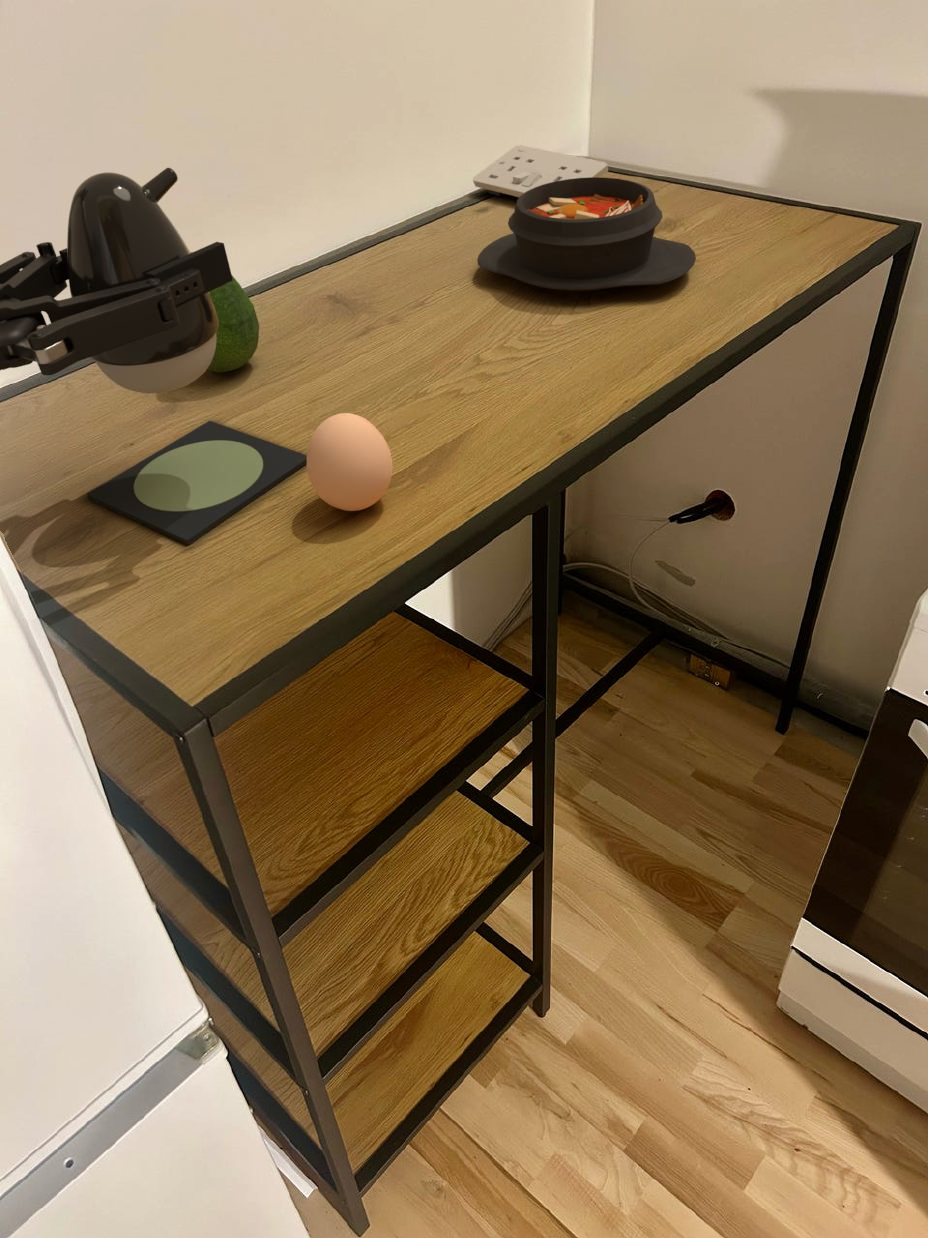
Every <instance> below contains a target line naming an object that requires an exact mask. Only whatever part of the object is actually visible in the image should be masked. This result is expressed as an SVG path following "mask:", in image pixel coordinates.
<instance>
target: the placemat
mask: <svg viewBox="0 0 928 1238" xmlns="http://www.w3.org/2000/svg"><path fill="white" fill-rule="evenodd" d="M304 466H307V454H304V453H301V452H299V451H296V450H293V449H290V448H288V447H284V446H282V445H279V444H276V443H274V442H271V441H268V440H265V439H262V438H260V437H257V436H254V435H251V434H249V433H247V432H243V431H240V430H237V429H234V428H232V427H228V426H226V425H223V424H221V423H218V422H215V421H212V420H207V422H205V423H203V424H201V425H200V426H198V427H196V428H195V429H192V431H190V432H188V433H187V434H185V435H183V436H181V437H180V438H178V439H176V440H175V441H173V442H171V443H170V444H168V445H166V446H165V447H163V448H161V449H160V450H157V451H156V452H154V453H153V454H151V455H149V456H148V457H146V458H144V459H142V460H141V461H139V462H138V463H136V464H134V465H132V466H131V467H129V468H127V469H126V470H124V471H122V472H120V473H119V474H117V475H116V476H114V477H113V478H111V479H109V480H107V481H106V482H104V483H102V484H101V485H99V486H97V487H95V488H94V489H92V490H90V491H89V492H87V493H86V497H87V499H88V500H90V501H93V502H94V503H97V504H99V505H101V506H103V507H105V508H108V509H109V510H112V511H114V512H116V513H118V514H120V515H122V516H125V517H127V518H129V519H131V520H134V521H136V522H138V523H140V524H142V525H144V526H146V527H149V528H150V529H153V530H155V531H156V532H159V533H162V534H163V535H166V536H168V537H170V538H172V539H174V540H176V541H179V542H181V543H183V544H184V545H187V546H190V545H191V544H192V543H194V542H196V541H197V540H198V539H199V538H201V537H203V536H204V535H205V534H207V533H209V532H210V531H211V530H214V528H216V527H218V525H220V524H221V523H223V522H224V521H226V520H227V519H228V518H230V517H232V516H233V515H234V514H236V513H238V512H239V511H241V509H243V508H245V507H246V506H247V505H249V504H251V503H252V502H253V501H255V500H256V499H258V498H259V497H261V496H262V495H264V494H265V493H267V492H268V491H270V490H271V489H273V488H274V487H275V486H276V485H279V484H280V483H281V482H282V481H284V480H285V479H287V478H288V477H290V476H292V474H294V473H296V472H297V471H299V470H300V469H302V468H303V467H304Z"/></svg>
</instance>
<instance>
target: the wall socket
mask: <svg viewBox="0 0 928 1238" xmlns="http://www.w3.org/2000/svg"><path fill="white" fill-rule="evenodd" d="M608 172H609V165H608V163H607V162H606V161H601V160H597V159H591V158H587V157H581V156H577V155H572V154H568V153H563V152H556V151H553V150H547V149H542V148H537V147H532V146H527V145H522V144H519V145H515V146H513V147H512V148H510V149H509V150H508V151H506V152H505V153H503V155H501V156H500V157H499V158H497V159H496V160H494V161H493V162H492V163H491V164H489V165H488V166H486V167H485V168H484V169H482V170H481V171H480V172H478V173H477V174H476V175H474V176H473V177H472V182H473V184H474V187H476V188H480V189H484V190H487V191H488V194H489V195H494V196H498V197H501V196H502V195H504V194H505V195H509V196H513V197H515V198H517V199H518V198H519V197H520V196H521V195H522V194H524V193H525V192H526V191H528V190H531V189H533V188H535V187H538V186H541V185H543V184H547V183H551V182H555V181H561V180H567V179H575V178H590V177H597V178H602V177H603V176H604V175H605V174H607V173H608Z"/></svg>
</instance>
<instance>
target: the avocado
mask: <svg viewBox="0 0 928 1238" xmlns="http://www.w3.org/2000/svg"><path fill="white" fill-rule="evenodd" d="M193 252H194V251H190V253H193ZM232 278H233V280H232V281H230V282H228V283H226V284H224V285H222V286H220V287H218V288H216V289H214V290H212V291H210V292H209V294H210V296H211V299H212V301H213V304H214V307H215V310H216V313H217V317H218V322H219V326H218V330H217V332H216V349H215V353H214V357H213V359H212V361H211V363H210V365H209V367H208V368H207V370H209V371H211V372H214V373H225V372H226V373H227V372H231V371H235V370H238V369H240V368H241V367H242V366H244V365H245V364H246V363H247V362H249V361H250V360H251V359H252V357H253V356H254V355H255V353H256V351H257V349H258V344H259V335H260V323H259V320H258V316H257V312H256V309H255V306H254V303H252V300H251V299H250V298H249V296H248V295H247V293H246V292H245V290H244V289H243V287H242V286H241V284H240V283H239V282H238V280H237V279H236V278H235V277H234V276H233V275H232Z"/></svg>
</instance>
